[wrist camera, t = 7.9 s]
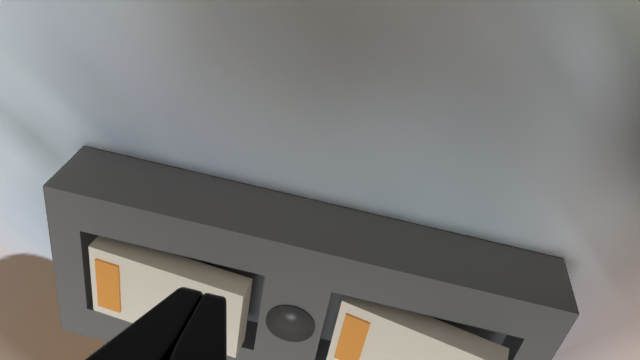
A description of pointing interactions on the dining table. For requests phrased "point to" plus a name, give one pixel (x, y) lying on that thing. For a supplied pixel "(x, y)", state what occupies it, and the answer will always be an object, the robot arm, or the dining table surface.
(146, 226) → the rocker switch box
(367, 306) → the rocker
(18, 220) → the dining table surface
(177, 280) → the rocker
